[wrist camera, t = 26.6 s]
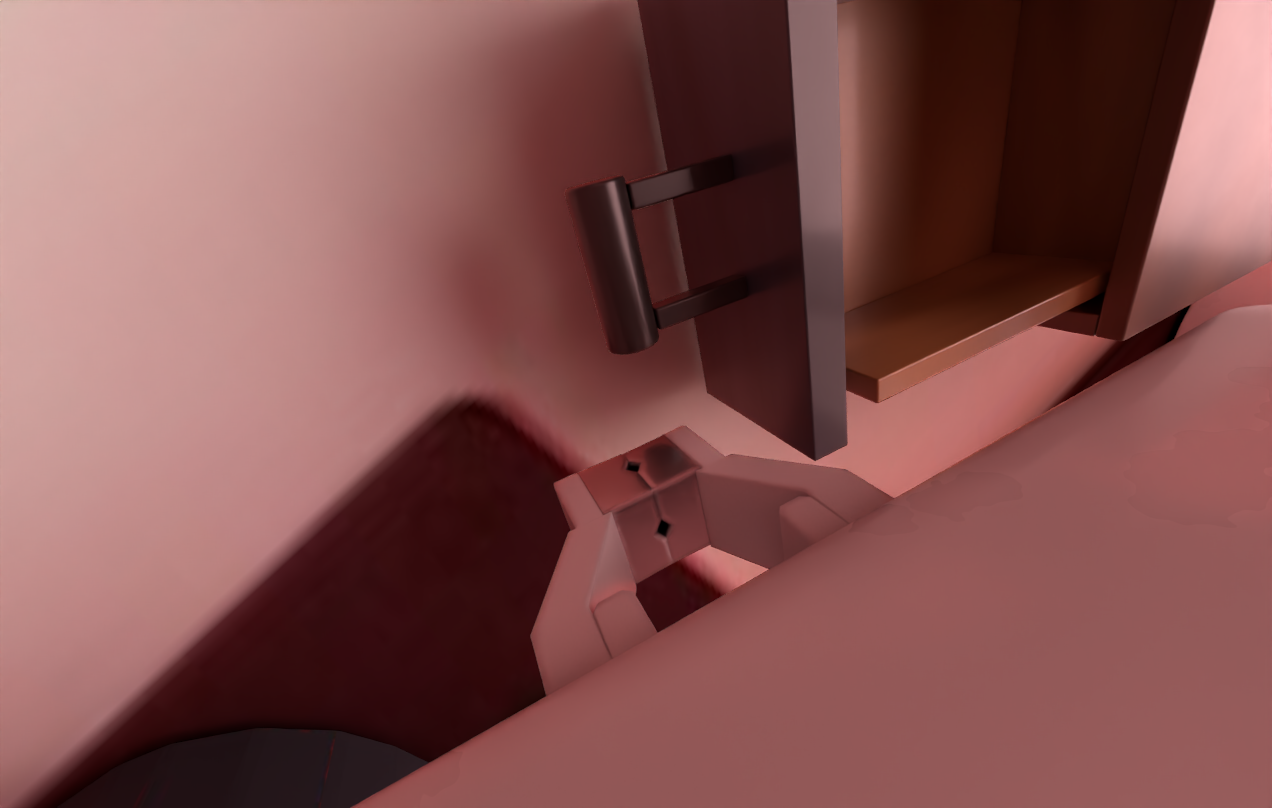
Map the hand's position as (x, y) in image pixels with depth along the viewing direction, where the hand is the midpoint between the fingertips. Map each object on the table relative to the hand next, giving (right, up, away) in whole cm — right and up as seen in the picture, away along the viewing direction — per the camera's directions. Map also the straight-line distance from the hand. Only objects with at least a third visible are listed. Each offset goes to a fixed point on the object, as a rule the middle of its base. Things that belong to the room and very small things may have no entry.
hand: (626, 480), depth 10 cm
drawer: (+6, +9, +7) cm, 13 cm away
